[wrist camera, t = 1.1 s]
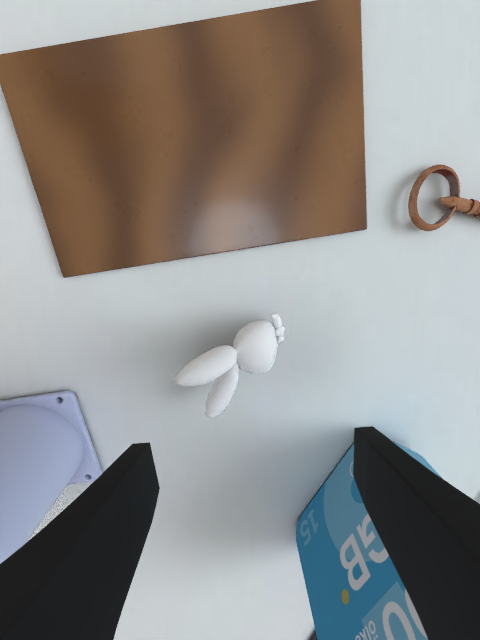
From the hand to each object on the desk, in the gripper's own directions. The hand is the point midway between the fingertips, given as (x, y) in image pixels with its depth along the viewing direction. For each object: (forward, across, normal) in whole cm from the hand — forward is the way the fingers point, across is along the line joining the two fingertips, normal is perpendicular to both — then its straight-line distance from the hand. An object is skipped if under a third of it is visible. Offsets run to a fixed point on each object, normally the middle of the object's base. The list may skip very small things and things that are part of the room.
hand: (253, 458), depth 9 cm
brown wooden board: (+11, +2, -13) cm, 17 cm away
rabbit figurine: (+11, +1, 0) cm, 11 cm away
